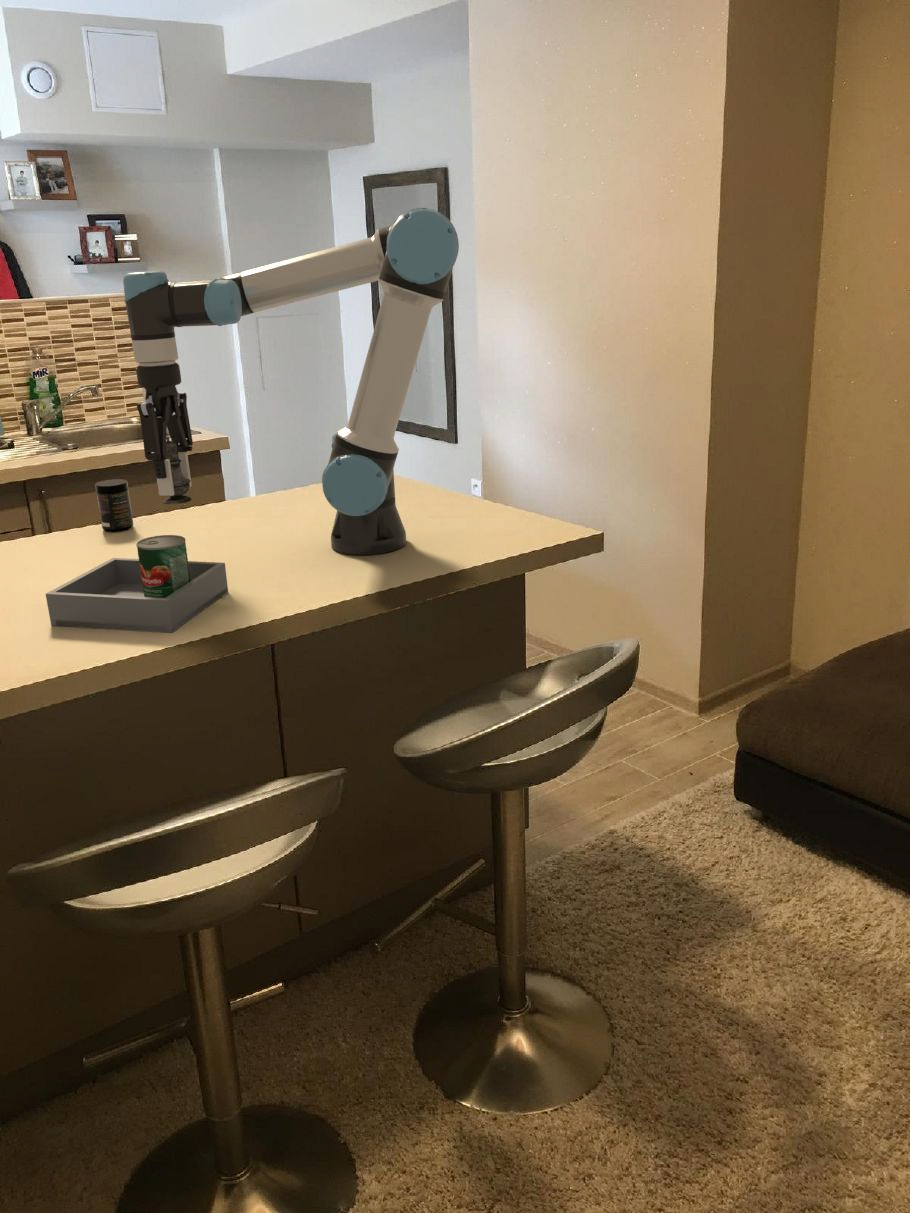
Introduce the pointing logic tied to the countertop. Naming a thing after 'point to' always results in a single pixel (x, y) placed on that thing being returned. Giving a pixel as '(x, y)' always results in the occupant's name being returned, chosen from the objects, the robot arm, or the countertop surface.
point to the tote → (133, 598)
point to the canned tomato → (163, 565)
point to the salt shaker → (176, 476)
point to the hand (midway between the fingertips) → (175, 490)
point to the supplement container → (114, 505)
